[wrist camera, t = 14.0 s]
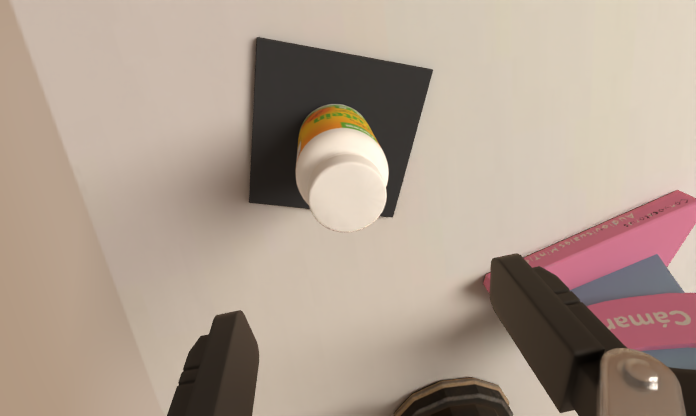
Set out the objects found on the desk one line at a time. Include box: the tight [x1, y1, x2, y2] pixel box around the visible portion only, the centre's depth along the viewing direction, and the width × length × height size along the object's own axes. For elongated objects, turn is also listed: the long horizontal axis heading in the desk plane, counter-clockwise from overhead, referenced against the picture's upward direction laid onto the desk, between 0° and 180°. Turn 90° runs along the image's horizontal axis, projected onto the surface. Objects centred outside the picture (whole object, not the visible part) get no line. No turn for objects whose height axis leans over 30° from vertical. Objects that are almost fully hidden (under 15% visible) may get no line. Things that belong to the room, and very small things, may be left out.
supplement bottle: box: [296, 104, 389, 232], centre depth 21 cm, size 5×5×10 cm
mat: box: [249, 37, 433, 217], centre depth 26 cm, size 12×12×1 cm
